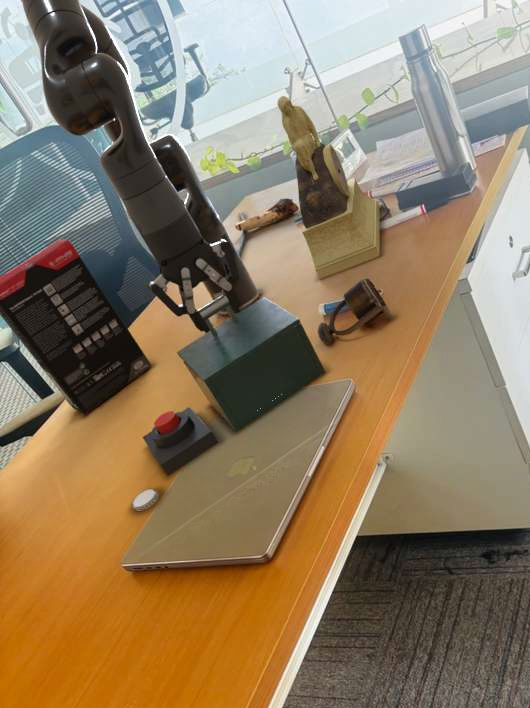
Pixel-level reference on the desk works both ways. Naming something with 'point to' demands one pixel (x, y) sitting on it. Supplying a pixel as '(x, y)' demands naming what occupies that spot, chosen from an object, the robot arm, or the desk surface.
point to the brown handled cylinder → (356, 309)
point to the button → (167, 422)
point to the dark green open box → (263, 378)
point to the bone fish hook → (269, 215)
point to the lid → (235, 336)
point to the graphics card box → (70, 326)
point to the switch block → (180, 441)
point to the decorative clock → (329, 200)
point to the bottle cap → (145, 499)
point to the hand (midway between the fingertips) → (221, 321)
